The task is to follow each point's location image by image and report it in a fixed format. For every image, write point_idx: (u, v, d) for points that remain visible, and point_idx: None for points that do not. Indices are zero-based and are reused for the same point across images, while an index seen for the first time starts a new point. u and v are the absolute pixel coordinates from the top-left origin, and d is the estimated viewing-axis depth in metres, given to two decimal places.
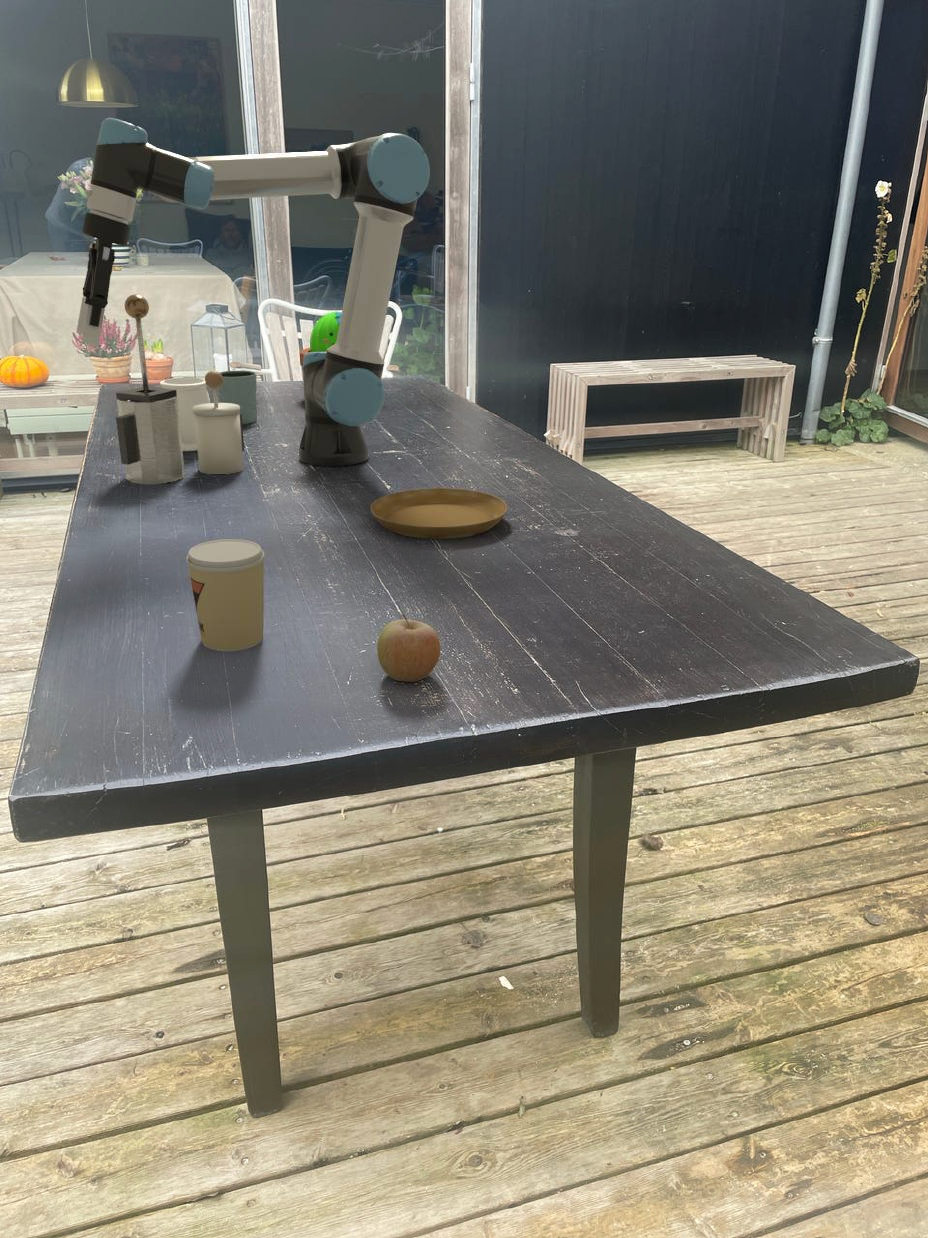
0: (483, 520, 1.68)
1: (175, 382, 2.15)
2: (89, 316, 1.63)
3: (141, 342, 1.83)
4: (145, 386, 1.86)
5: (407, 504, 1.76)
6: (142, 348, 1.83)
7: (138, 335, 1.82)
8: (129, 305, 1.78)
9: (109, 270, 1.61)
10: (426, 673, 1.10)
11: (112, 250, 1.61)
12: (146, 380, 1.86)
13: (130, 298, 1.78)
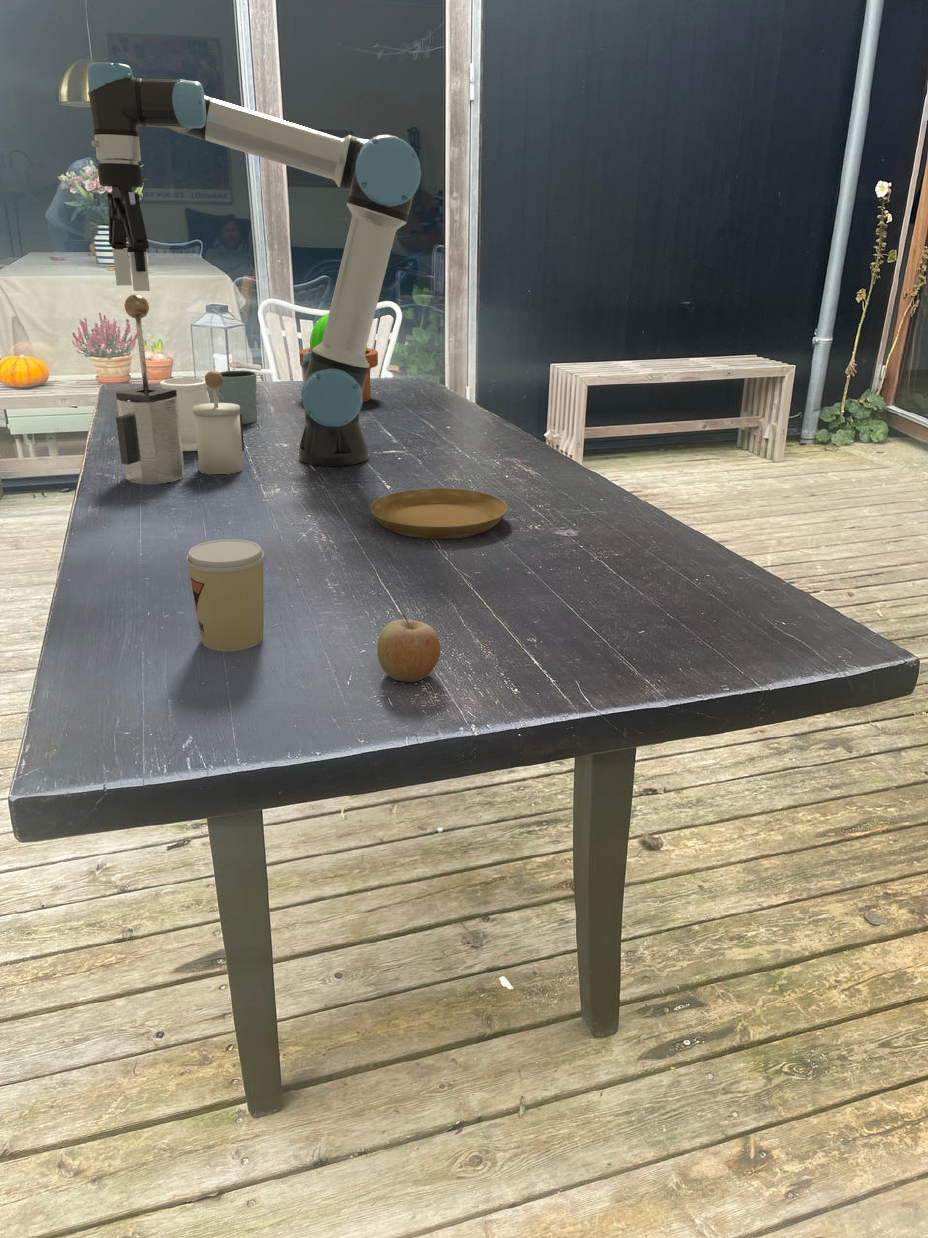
0: (483, 520, 1.68)
1: (175, 382, 2.15)
2: (134, 263, 1.71)
3: (141, 342, 1.83)
4: (145, 386, 1.86)
5: (407, 504, 1.76)
6: (142, 348, 1.83)
7: (138, 335, 1.82)
8: (129, 305, 1.78)
9: (140, 213, 1.68)
10: (426, 673, 1.10)
11: (136, 193, 1.68)
12: (146, 380, 1.86)
13: (130, 298, 1.78)
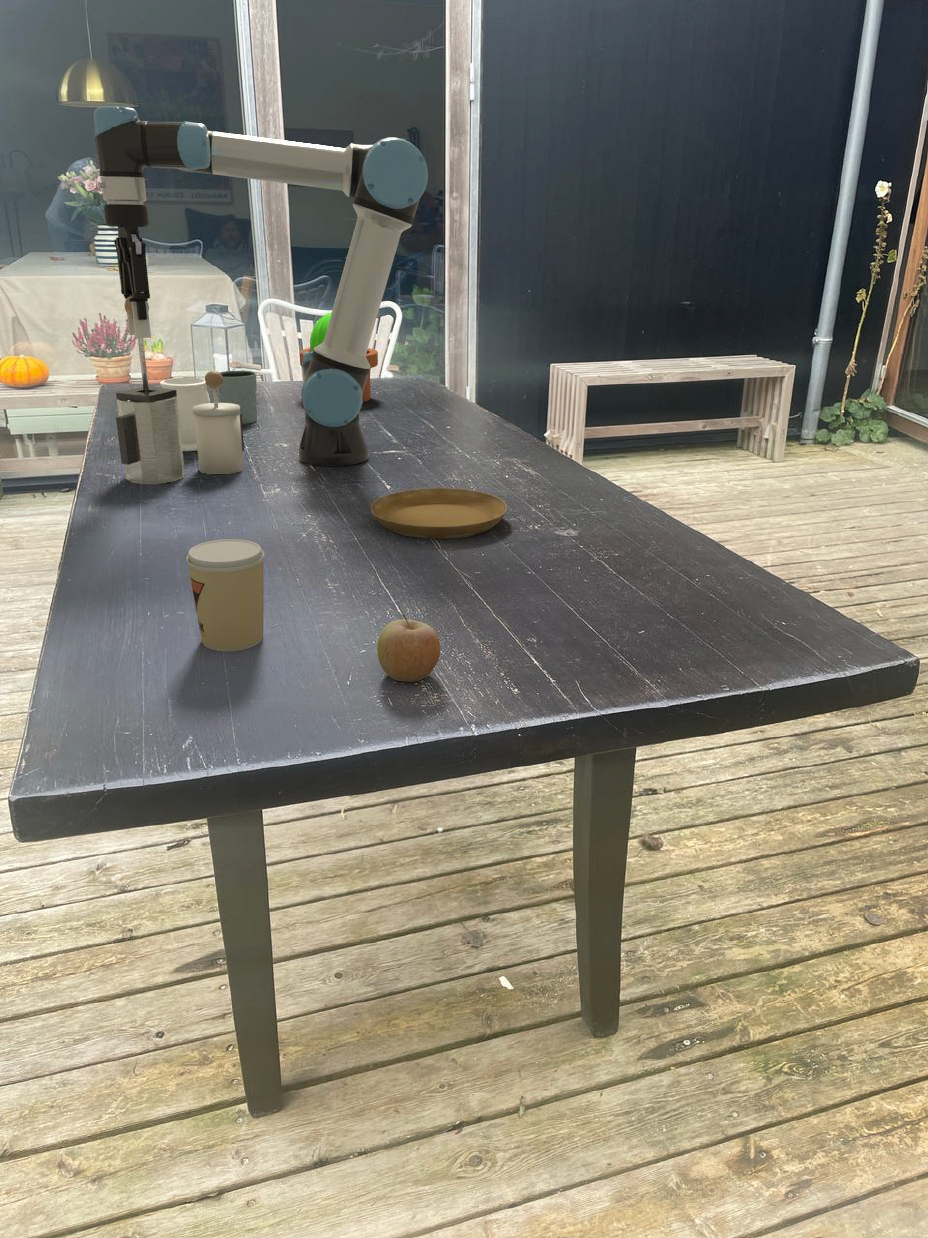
0: (483, 520, 1.68)
1: (175, 382, 2.15)
2: (136, 312, 1.78)
3: (141, 342, 1.83)
4: (145, 386, 1.86)
5: (407, 504, 1.76)
6: (142, 348, 1.83)
7: None
8: (129, 305, 1.78)
9: (144, 264, 1.73)
10: (426, 673, 1.10)
11: (143, 244, 1.71)
12: (146, 380, 1.86)
13: None
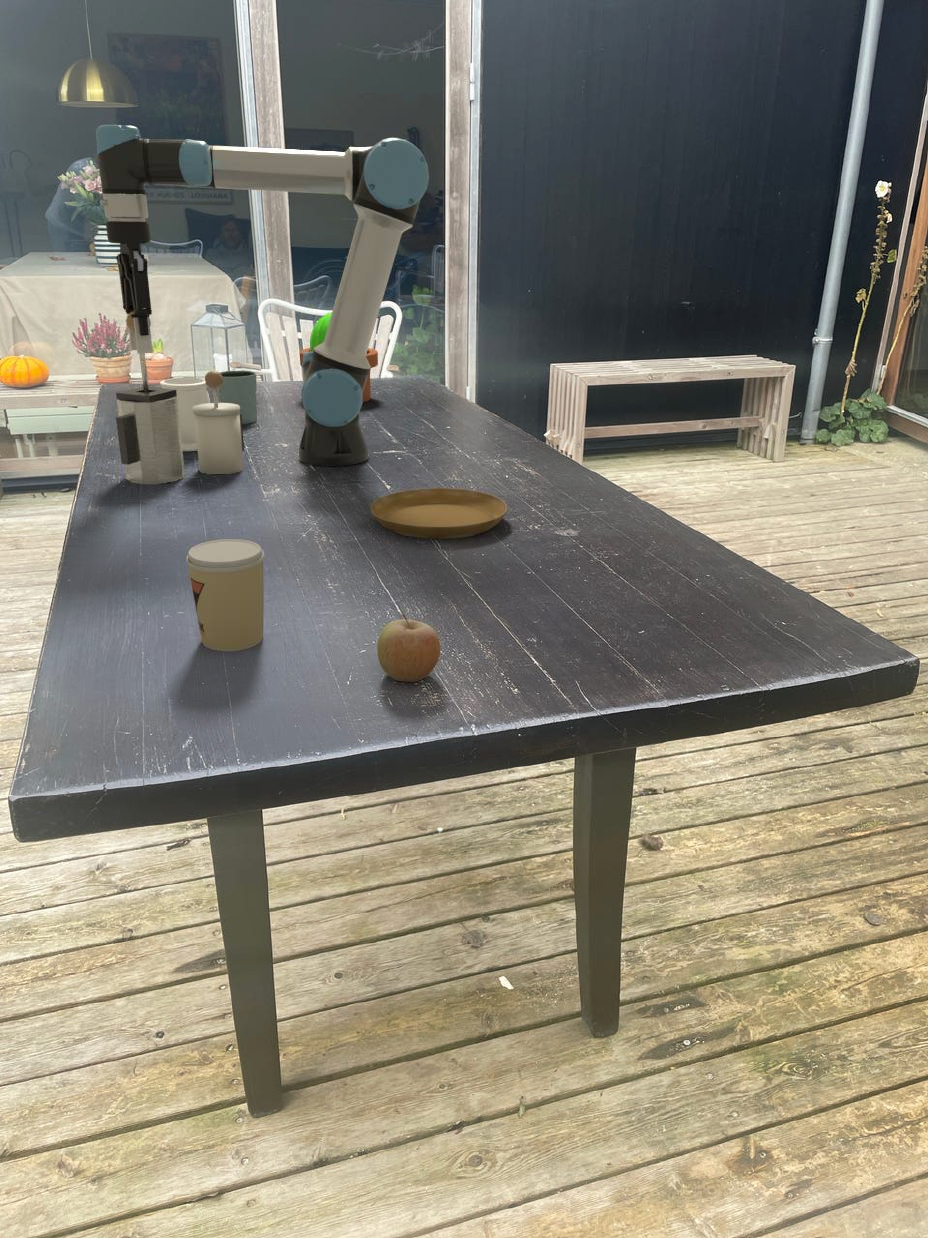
0: (483, 520, 1.68)
1: (175, 382, 2.15)
2: (138, 328, 1.79)
3: (143, 357, 1.84)
4: None
5: (407, 504, 1.76)
6: (144, 363, 1.84)
7: None
8: (130, 321, 1.79)
9: (146, 280, 1.74)
10: (426, 673, 1.10)
11: (145, 261, 1.72)
12: None
13: None
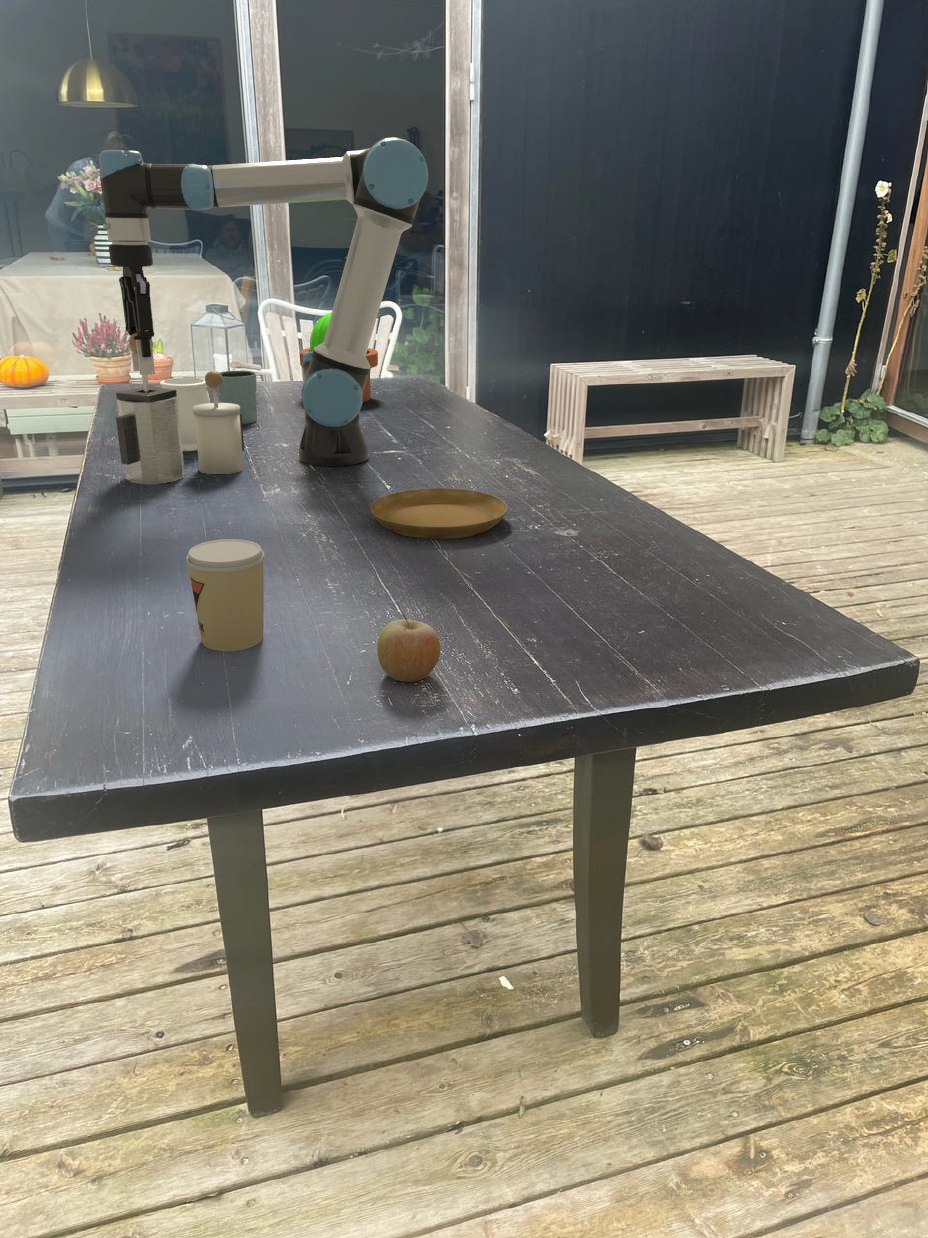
0: (483, 520, 1.68)
1: (175, 382, 2.15)
2: (140, 349, 1.81)
3: (145, 378, 1.85)
4: None
5: (407, 504, 1.76)
6: (146, 384, 1.86)
7: None
8: (133, 343, 1.81)
9: (149, 303, 1.76)
10: (426, 673, 1.10)
11: (147, 284, 1.74)
12: None
13: None
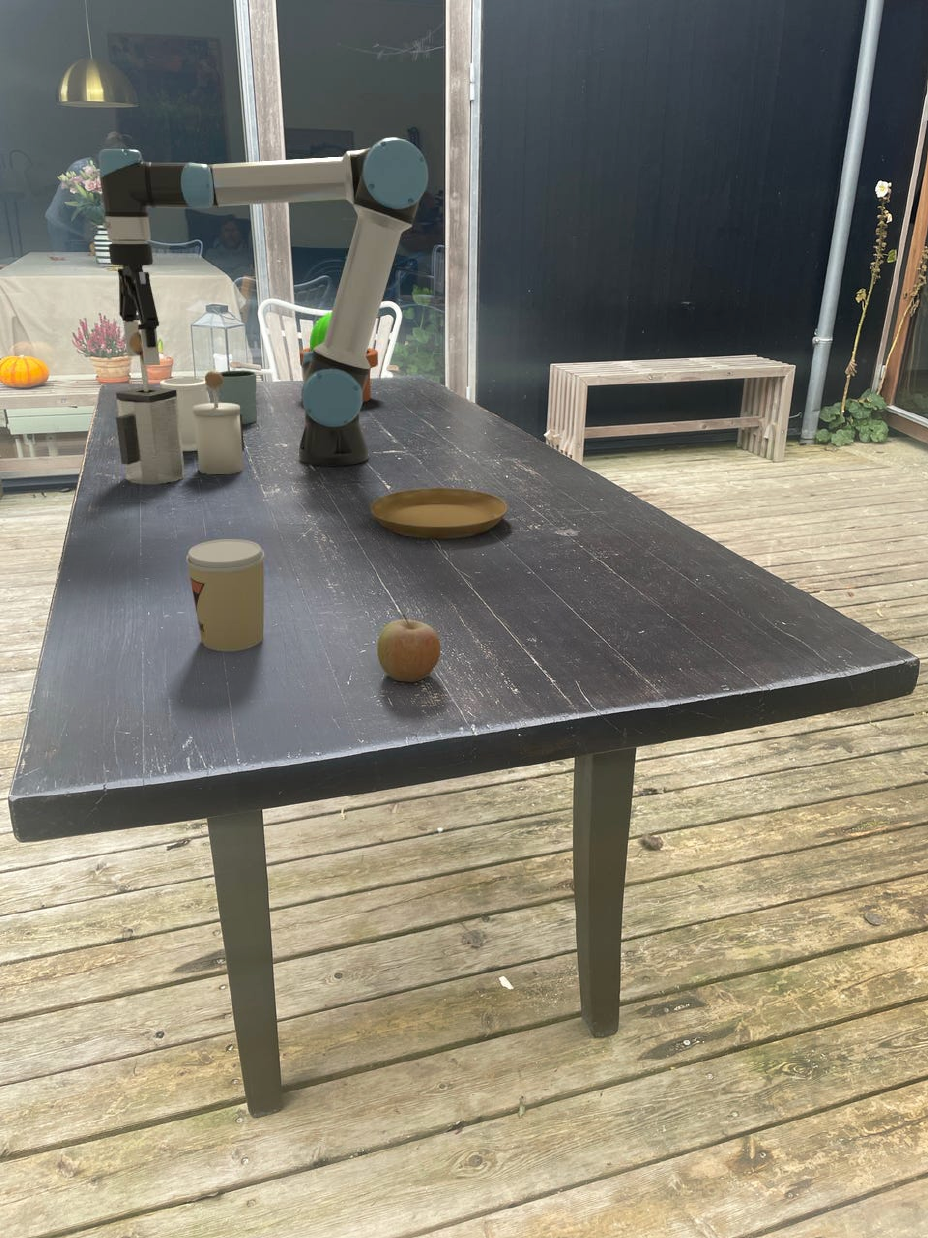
0: (483, 520, 1.68)
1: (175, 382, 2.15)
2: (145, 339, 1.76)
3: (145, 378, 1.85)
4: None
5: (407, 504, 1.76)
6: (146, 384, 1.86)
7: (142, 371, 1.85)
8: (133, 343, 1.81)
9: (150, 292, 1.74)
10: (426, 673, 1.10)
11: (146, 273, 1.73)
12: None
13: (134, 336, 1.81)
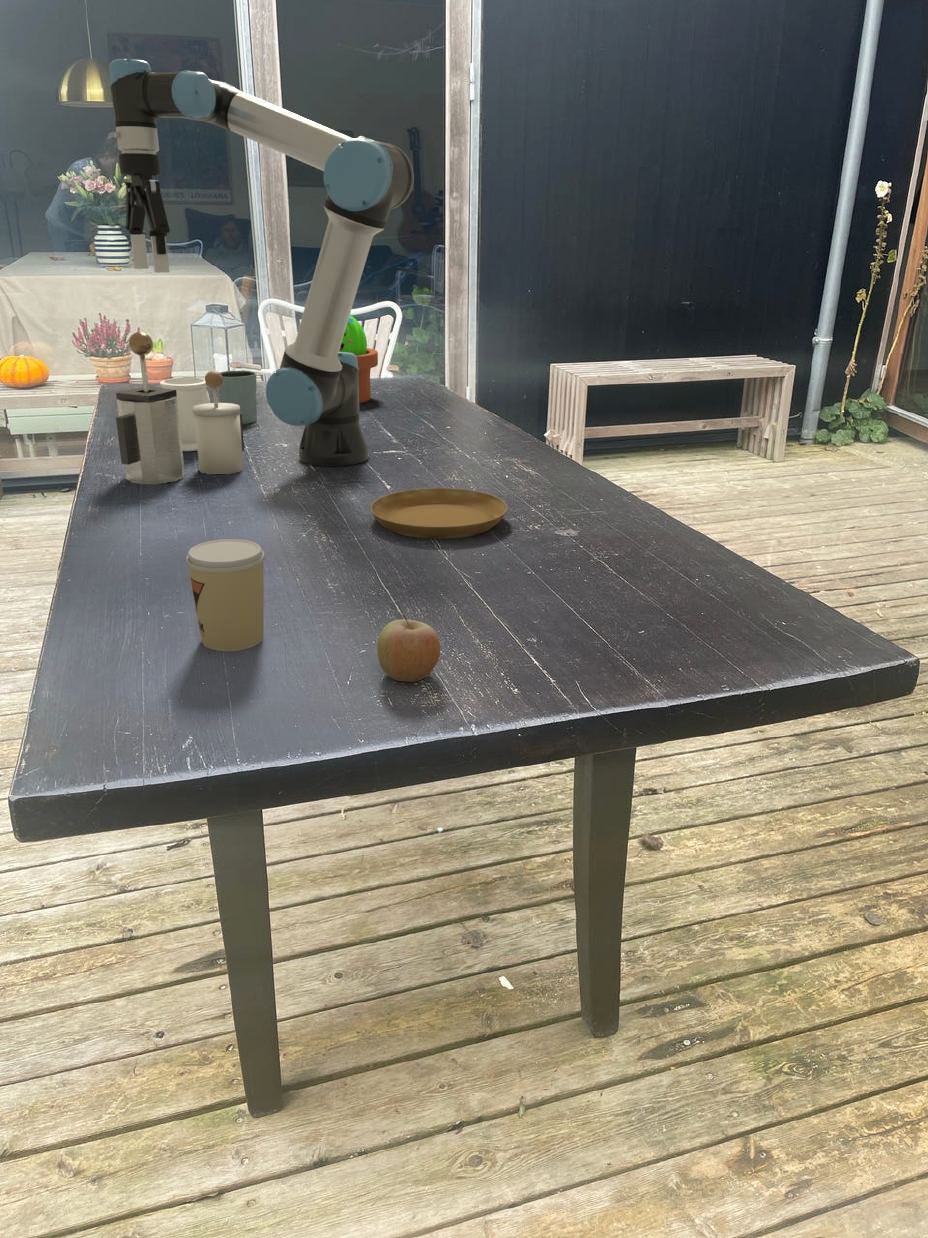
0: (483, 520, 1.68)
1: (175, 382, 2.15)
2: (155, 246, 1.84)
3: (145, 378, 1.85)
4: None
5: (407, 504, 1.76)
6: (146, 384, 1.86)
7: (142, 371, 1.85)
8: (133, 343, 1.81)
9: (160, 200, 1.81)
10: (426, 673, 1.10)
11: (157, 181, 1.80)
12: None
13: (134, 336, 1.81)
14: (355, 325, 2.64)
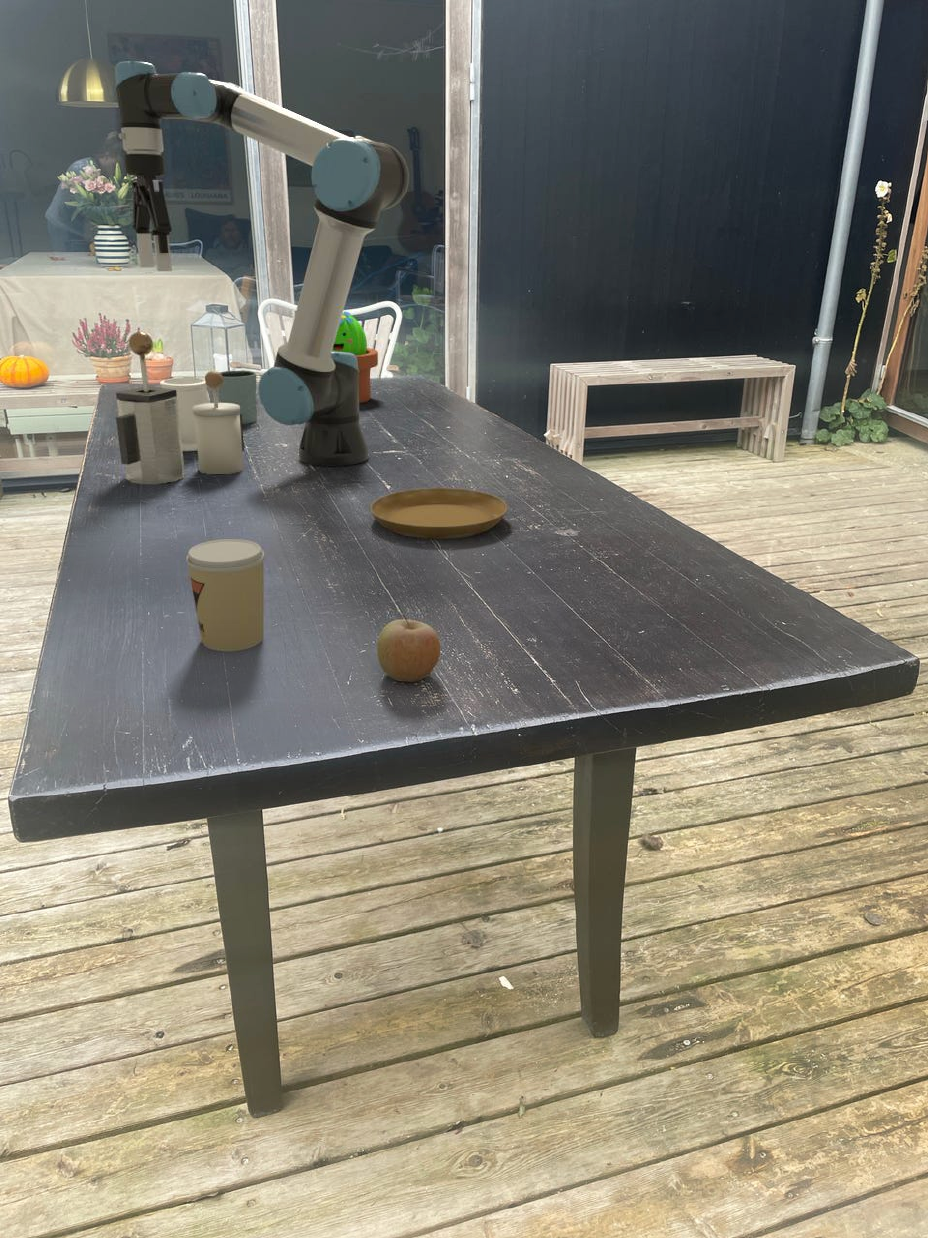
0: (483, 520, 1.68)
1: (175, 382, 2.15)
2: (158, 245, 1.87)
3: (145, 378, 1.85)
4: None
5: (407, 504, 1.76)
6: (146, 384, 1.86)
7: (142, 371, 1.85)
8: (133, 343, 1.81)
9: (163, 199, 1.84)
10: (426, 673, 1.10)
11: (160, 181, 1.83)
12: None
13: (134, 336, 1.81)
14: (355, 325, 2.64)
